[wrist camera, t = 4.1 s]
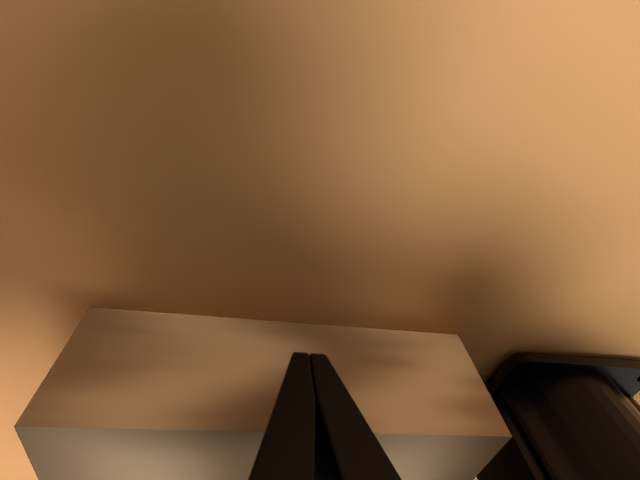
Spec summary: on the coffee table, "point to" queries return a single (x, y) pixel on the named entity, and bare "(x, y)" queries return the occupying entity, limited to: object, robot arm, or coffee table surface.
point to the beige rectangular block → (245, 397)
